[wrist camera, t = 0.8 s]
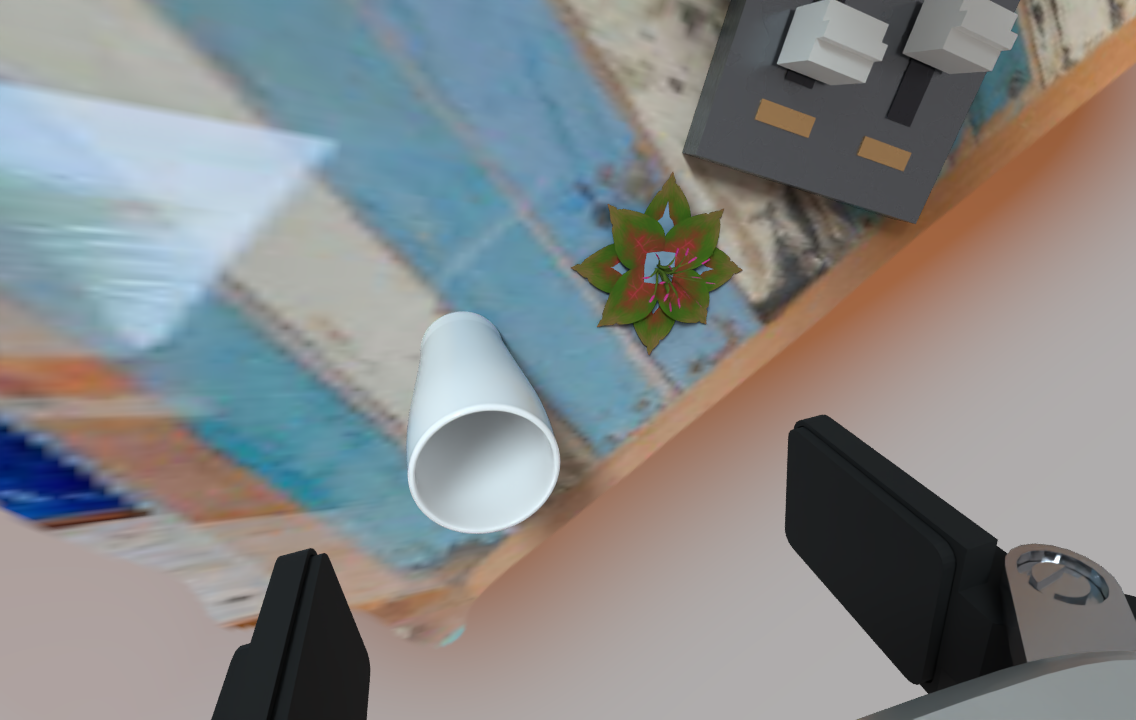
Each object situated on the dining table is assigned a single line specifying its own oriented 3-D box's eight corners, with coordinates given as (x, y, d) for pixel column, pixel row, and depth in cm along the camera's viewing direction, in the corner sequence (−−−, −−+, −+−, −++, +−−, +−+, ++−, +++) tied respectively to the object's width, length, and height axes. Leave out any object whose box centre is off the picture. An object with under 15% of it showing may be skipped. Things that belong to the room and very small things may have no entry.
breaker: (796, 7, 33) (838, -4, 29) (851, 31, 34) (897, 22, 31) (776, 64, 34) (814, 59, 30) (830, 85, 35) (872, 82, 32)
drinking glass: (454, 276, 36) (477, 373, 23) (532, 339, 39) (593, 457, 26) (387, 354, 37) (371, 491, 24) (468, 410, 40) (494, 559, 27)
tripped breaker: (925, -2, 34) (977, -13, 31) (972, 22, 35) (1028, 13, 32) (902, 53, 35) (951, 47, 32) (949, 73, 36) (1001, 70, 33)
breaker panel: (806, -238, 30) (832, -261, 28) (1037, -97, 36) (1072, -109, 34) (682, 152, 37) (696, 155, 35) (894, 219, 42) (916, 224, 40)
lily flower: (536, 264, 38) (551, 283, 34) (673, 136, 37) (706, 138, 32) (641, 377, 43) (665, 405, 39) (764, 268, 42) (802, 285, 38)
